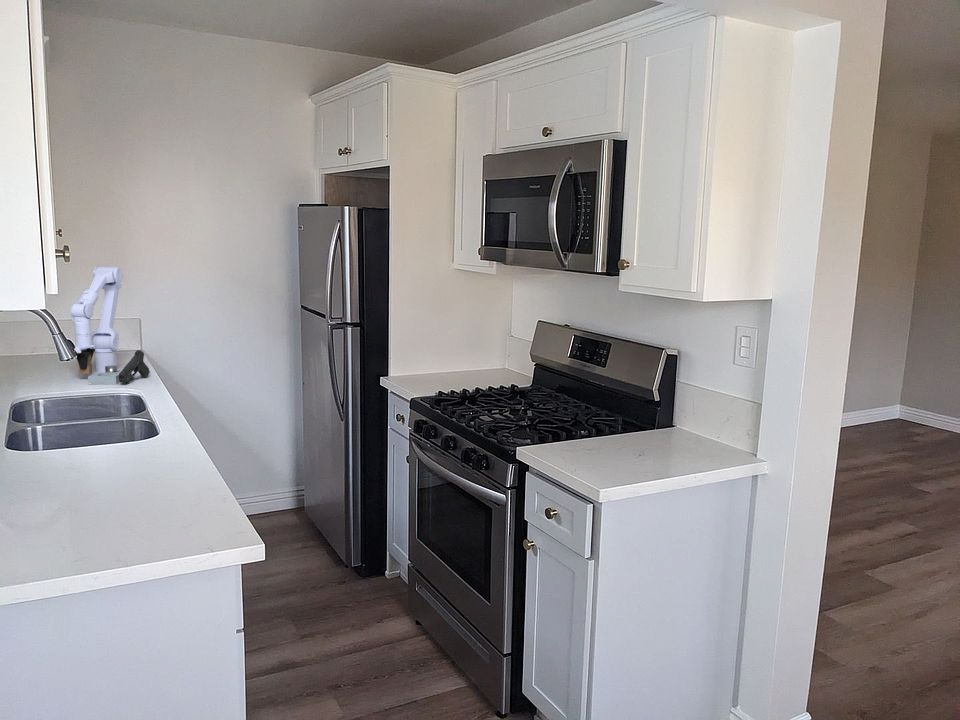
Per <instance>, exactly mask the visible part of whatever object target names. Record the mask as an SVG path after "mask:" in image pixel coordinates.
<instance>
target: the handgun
mask: <svg viewBox="0 0 960 720" xmlns="http://www.w3.org/2000/svg"><path fill="white" fill-rule="evenodd" d="M144 357H145V353H144V351H142V350H140V349H139V350H138V349H137V350H135V352H134V355H133V357H132V358H131V359H130V360H129V361H128V362H127V364H126V365H125V366H124V367H123V368H122V370H121V371H120V373H119V376H118V377H119V383H121V384H122V385H129V384H130V383H131V381H133V380H134V379H135V376H136V374H137V373H139V375H140V377H141V378H140V379H147V378H148V377H149V375H150V374H151V373H150V372H151V371H150V368H149V367H148V365H147V364H146V363H145V362H144ZM132 372H133V373H132Z"/></svg>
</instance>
